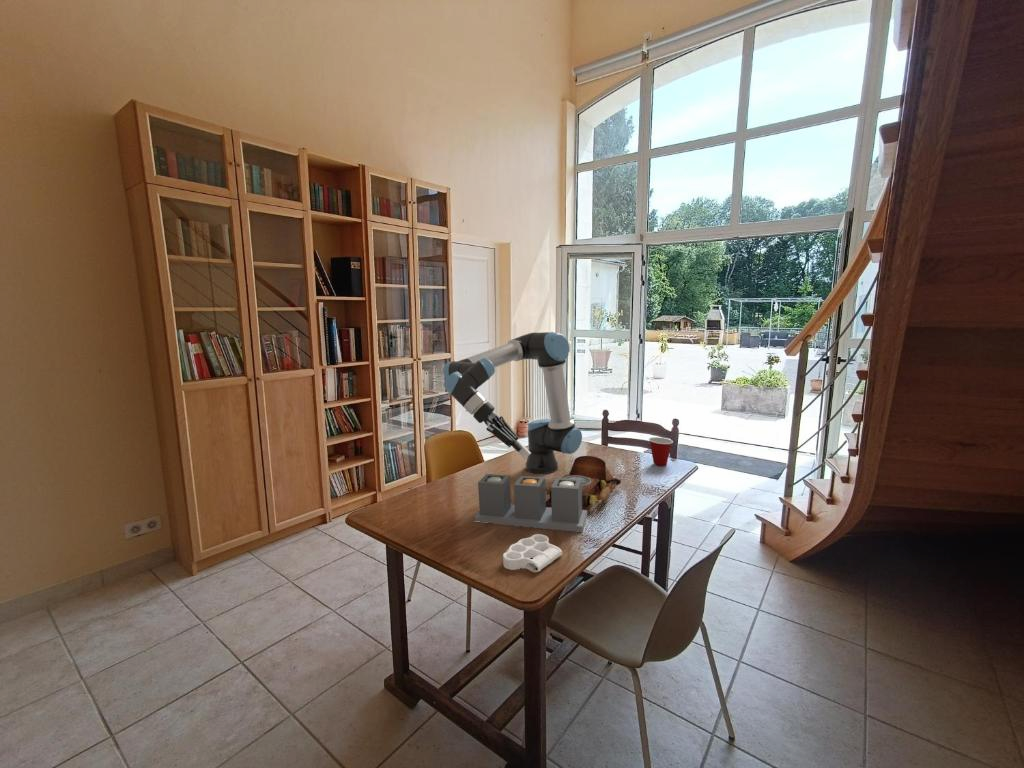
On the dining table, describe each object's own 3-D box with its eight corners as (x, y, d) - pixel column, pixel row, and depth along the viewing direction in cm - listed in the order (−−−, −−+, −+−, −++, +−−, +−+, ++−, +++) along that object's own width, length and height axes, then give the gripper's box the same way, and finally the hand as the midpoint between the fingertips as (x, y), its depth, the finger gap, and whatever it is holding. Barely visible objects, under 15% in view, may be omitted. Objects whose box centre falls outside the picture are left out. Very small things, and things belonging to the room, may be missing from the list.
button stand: (474, 522, 161) (472, 484, 159) (486, 507, 173) (484, 471, 171) (582, 532, 150) (581, 491, 149) (587, 515, 163) (586, 477, 161)
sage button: (485, 492, 162) (485, 481, 162) (490, 487, 167) (489, 476, 167) (499, 493, 161) (498, 482, 161) (503, 487, 166) (503, 477, 165)
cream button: (558, 497, 155) (558, 485, 155) (560, 491, 160) (560, 480, 159) (573, 498, 154) (572, 486, 153) (575, 492, 159) (575, 481, 158)
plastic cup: (676, 467, 210) (676, 442, 208) (652, 468, 210) (652, 442, 208) (668, 460, 220) (668, 436, 219) (645, 461, 221) (646, 436, 219)
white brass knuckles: (531, 580, 125) (492, 563, 134) (568, 553, 138) (530, 539, 148) (531, 569, 124) (491, 552, 134) (568, 543, 138) (530, 529, 147)
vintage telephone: (627, 454, 193) (597, 486, 158) (627, 482, 195) (597, 520, 160) (572, 449, 204) (533, 477, 170) (573, 475, 206) (534, 508, 171)
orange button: (521, 494, 159) (520, 483, 158) (524, 489, 164) (524, 478, 163) (535, 495, 158) (535, 484, 157) (538, 490, 162) (538, 479, 162)
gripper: (479, 411, 168) (525, 457, 166) (466, 419, 156) (515, 469, 154) (492, 397, 166) (539, 443, 164) (480, 404, 154) (530, 454, 151)
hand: (527, 455), depth 159 cm, fingers closed
